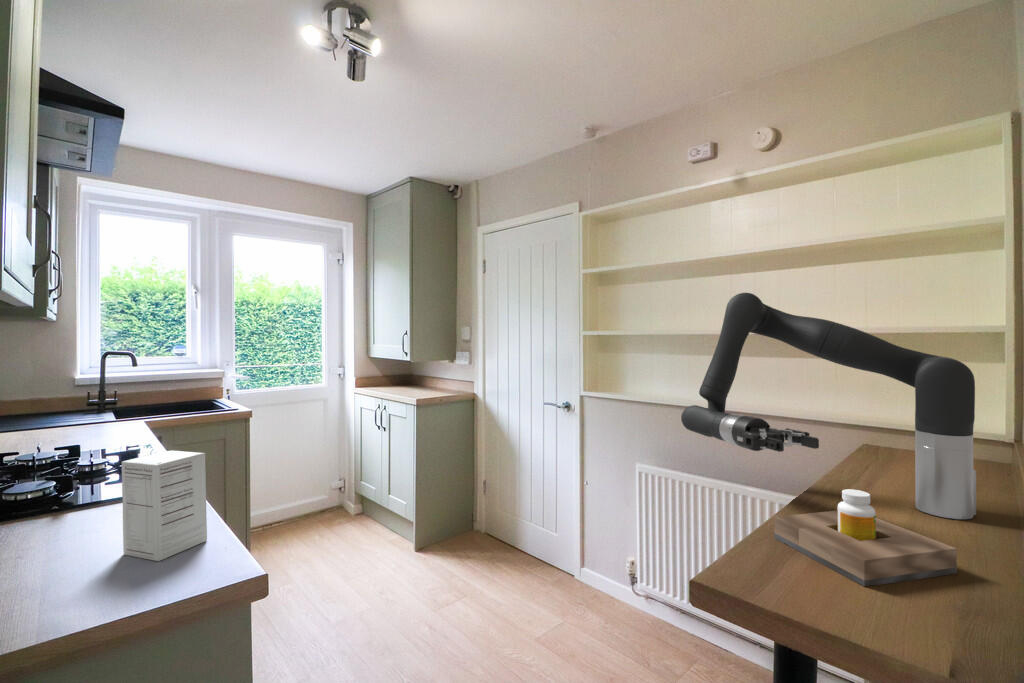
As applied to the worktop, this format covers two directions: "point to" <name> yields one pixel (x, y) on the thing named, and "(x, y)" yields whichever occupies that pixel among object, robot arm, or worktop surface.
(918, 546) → the socket block
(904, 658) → the worktop surface
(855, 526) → the supplement bottle
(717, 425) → the robot arm
